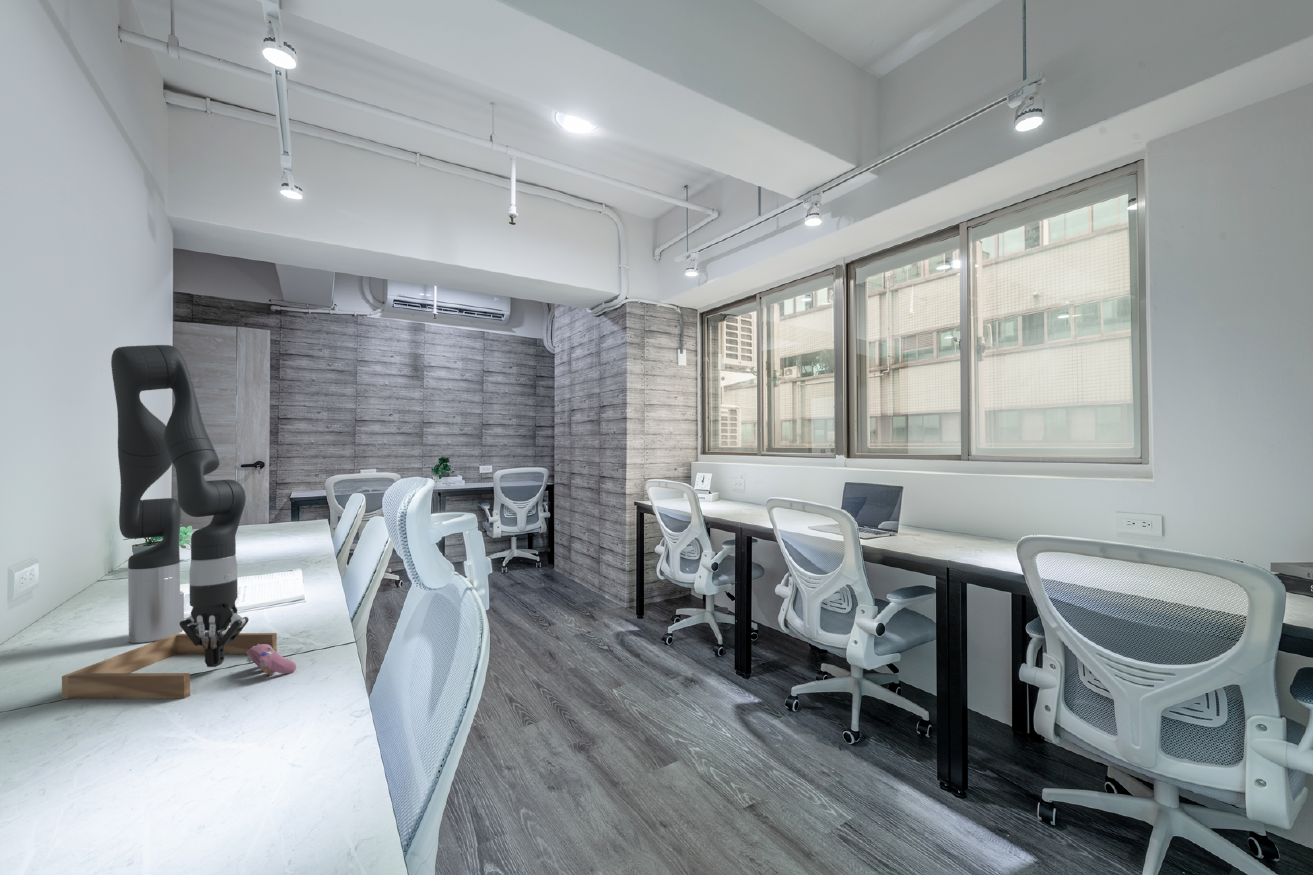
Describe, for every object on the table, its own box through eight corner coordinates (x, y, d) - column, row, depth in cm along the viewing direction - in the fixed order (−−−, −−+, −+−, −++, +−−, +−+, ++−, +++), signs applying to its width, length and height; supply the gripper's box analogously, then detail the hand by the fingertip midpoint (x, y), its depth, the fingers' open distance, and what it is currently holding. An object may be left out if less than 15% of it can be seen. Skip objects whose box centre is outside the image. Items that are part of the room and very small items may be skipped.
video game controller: (255, 675, 111) (236, 650, 109) (278, 659, 115) (260, 633, 112) (277, 686, 106) (257, 659, 103) (300, 668, 109) (282, 642, 107)
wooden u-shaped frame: (176, 651, 121) (176, 633, 122) (276, 651, 120) (276, 633, 120) (61, 698, 99) (61, 676, 99) (184, 698, 98) (184, 675, 98)
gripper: (260, 574, 114) (260, 658, 113) (198, 575, 114) (199, 658, 114) (230, 584, 106) (231, 673, 106) (164, 584, 107) (165, 673, 106)
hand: (214, 665), depth 110 cm, fingers closed
